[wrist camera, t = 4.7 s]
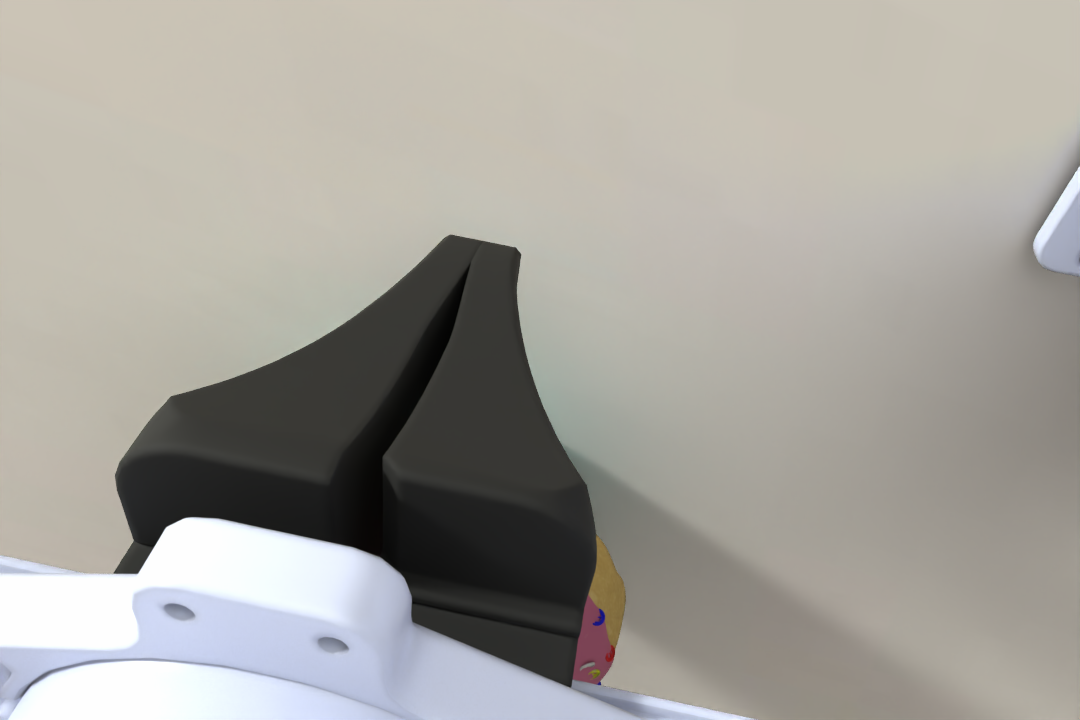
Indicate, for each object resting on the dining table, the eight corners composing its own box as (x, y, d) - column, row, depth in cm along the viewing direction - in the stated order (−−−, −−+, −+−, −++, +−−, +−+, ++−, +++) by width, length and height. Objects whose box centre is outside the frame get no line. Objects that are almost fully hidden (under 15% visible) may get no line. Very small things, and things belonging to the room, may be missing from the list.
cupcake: (499, 589, 27) (389, 1063, 18) (273, 445, 24) (14, 928, 16) (704, 480, 22) (688, 1057, 14) (452, 283, 19) (221, 855, 11)
